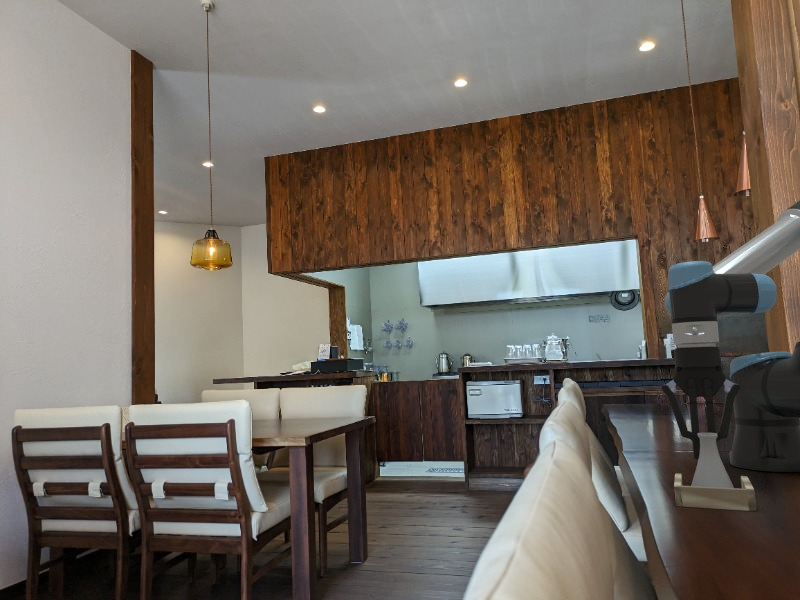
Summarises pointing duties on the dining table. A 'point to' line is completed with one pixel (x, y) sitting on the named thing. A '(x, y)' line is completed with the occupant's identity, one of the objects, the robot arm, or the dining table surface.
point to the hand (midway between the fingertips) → (707, 478)
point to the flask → (710, 465)
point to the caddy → (715, 496)
